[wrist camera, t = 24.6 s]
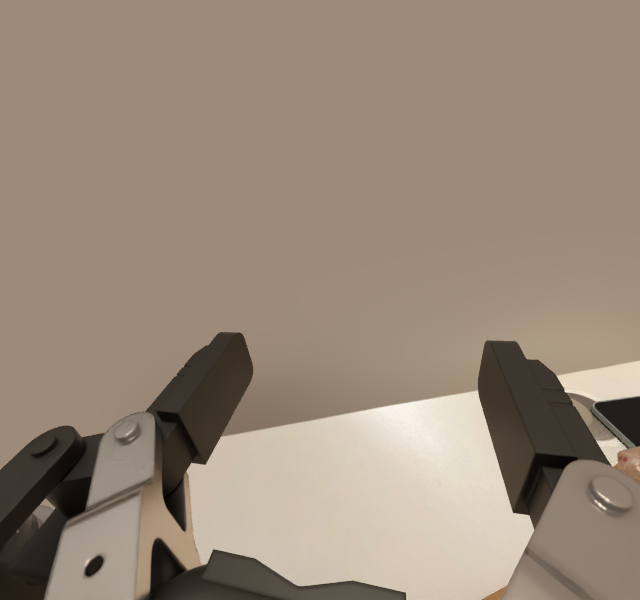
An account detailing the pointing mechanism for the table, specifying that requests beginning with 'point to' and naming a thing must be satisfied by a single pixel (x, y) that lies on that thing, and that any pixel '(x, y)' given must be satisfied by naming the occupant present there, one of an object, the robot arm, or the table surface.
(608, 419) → the smartphone
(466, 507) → the table surface
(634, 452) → the figurine
